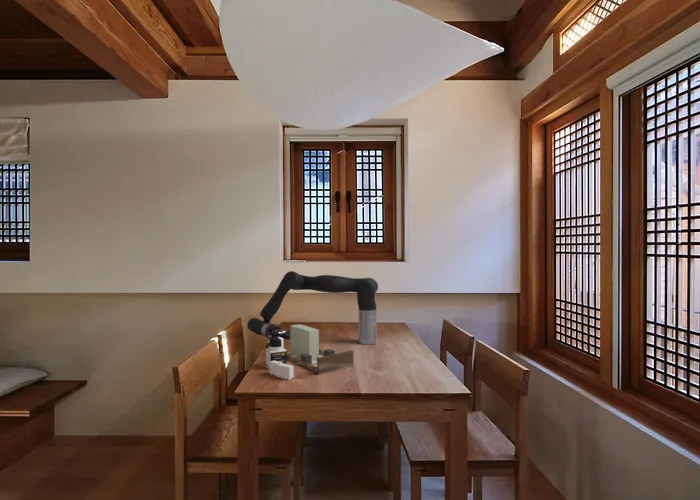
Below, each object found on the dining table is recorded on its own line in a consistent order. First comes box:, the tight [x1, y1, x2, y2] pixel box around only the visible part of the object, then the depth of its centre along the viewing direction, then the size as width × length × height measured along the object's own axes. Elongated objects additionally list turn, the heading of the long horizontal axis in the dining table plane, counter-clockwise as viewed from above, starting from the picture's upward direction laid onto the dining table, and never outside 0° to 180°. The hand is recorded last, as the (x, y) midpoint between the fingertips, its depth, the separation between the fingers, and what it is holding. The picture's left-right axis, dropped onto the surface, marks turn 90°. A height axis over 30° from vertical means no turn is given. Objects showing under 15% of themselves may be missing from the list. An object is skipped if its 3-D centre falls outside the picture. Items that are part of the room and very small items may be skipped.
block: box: [290, 323, 320, 361], centre depth 191 cm, size 16×5×13 cm, turn 38°
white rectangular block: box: [269, 361, 295, 381], centre depth 166 cm, size 15×11×6 cm
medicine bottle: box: [265, 337, 288, 369], centre depth 178 cm, size 7×7×12 cm
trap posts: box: [301, 348, 336, 364], centre depth 183 cm, size 4×15×4 cm, turn 128°
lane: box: [287, 348, 354, 375], centre depth 186 cm, size 36×17×6 cm, turn 38°
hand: (288, 337), depth 203 cm, fingers closed
